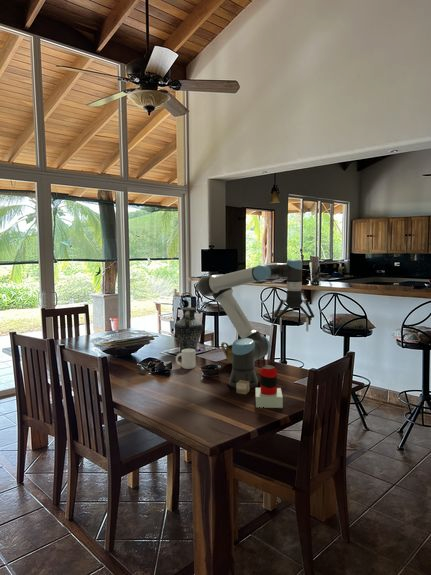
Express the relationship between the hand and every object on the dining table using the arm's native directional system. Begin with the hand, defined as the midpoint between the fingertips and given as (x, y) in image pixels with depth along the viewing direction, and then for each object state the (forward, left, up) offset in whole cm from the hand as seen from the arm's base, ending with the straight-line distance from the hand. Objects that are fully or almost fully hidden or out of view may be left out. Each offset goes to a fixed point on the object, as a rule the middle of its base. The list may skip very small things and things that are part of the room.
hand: (293, 331), depth 219 cm
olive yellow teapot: (-29, +36, -29) cm, 55 cm away
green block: (-14, -25, -29) cm, 41 cm away
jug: (-64, +66, -29) cm, 96 cm away
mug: (-61, +29, -29) cm, 73 cm away
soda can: (-14, -25, -24) cm, 37 cm away
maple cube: (-26, -11, -29) cm, 40 cm away
